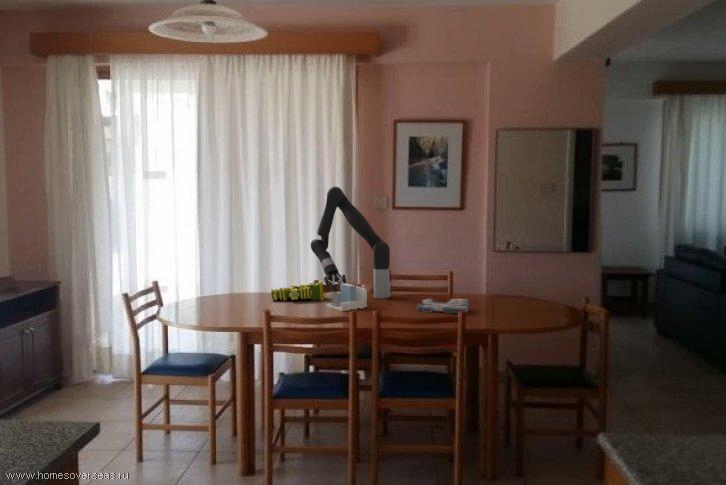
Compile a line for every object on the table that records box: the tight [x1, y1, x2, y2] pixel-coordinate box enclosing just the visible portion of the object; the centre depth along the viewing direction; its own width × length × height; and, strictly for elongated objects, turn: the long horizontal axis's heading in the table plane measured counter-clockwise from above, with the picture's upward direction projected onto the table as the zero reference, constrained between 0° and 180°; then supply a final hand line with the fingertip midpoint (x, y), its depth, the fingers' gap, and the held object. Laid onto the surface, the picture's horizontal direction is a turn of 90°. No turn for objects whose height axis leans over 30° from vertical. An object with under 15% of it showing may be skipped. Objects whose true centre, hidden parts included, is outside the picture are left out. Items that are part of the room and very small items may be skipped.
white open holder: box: [326, 285, 368, 312], centre depth 340 cm, size 16×16×10 cm
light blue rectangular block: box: [339, 282, 357, 303], centre depth 340 cm, size 4×10×11 cm, turn 33°
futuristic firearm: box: [416, 297, 471, 314], centre depth 332 cm, size 6×28×20 cm
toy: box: [270, 280, 325, 302], centre depth 362 cm, size 17×10×30 cm
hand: (340, 291), depth 346 cm, fingers open, 5 cm apart
